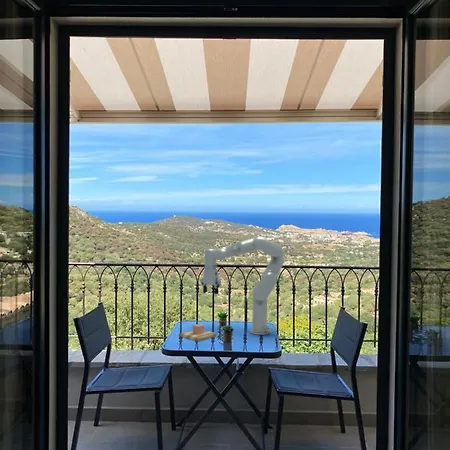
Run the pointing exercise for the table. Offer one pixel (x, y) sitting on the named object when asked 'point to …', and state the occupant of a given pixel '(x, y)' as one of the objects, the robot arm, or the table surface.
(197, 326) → the cube
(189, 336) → the oak board
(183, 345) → the table surface
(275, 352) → the table surface
